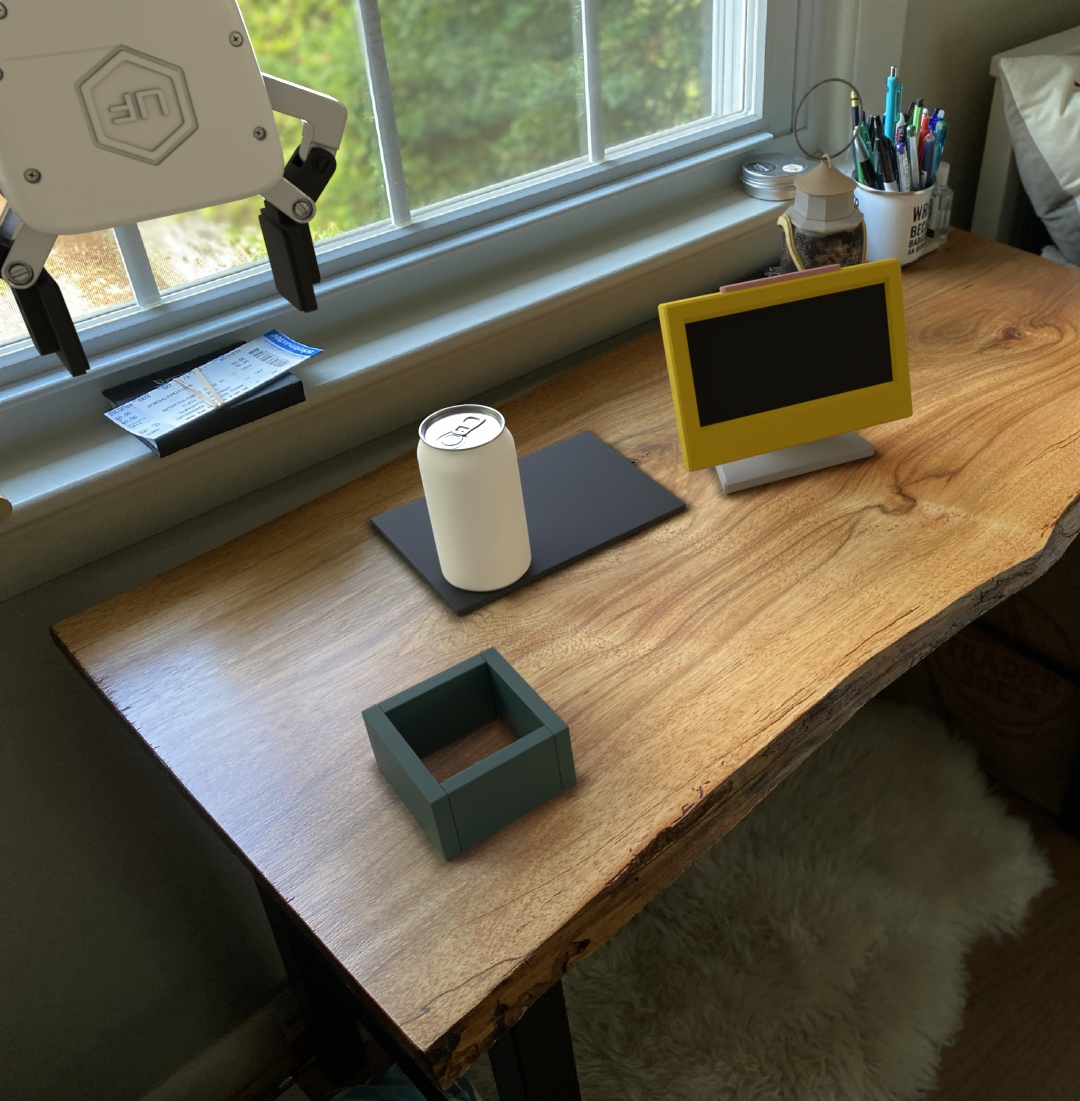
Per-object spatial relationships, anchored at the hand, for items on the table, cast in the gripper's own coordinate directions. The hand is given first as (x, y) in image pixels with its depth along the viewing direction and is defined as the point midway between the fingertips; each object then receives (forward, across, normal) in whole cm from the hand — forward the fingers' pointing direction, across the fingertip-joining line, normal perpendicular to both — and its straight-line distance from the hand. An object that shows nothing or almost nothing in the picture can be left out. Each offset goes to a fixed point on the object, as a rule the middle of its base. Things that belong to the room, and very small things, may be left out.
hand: (191, 331), depth 49 cm
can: (+28, +17, +11) cm, 34 cm away
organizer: (+29, +7, -6) cm, 30 cm away
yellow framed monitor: (+28, +44, +8) cm, 53 cm away
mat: (+28, +23, +15) cm, 39 cm away
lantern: (+28, +59, +20) cm, 68 cm away
